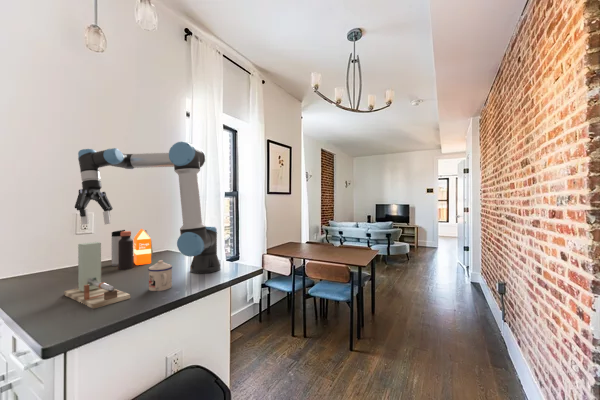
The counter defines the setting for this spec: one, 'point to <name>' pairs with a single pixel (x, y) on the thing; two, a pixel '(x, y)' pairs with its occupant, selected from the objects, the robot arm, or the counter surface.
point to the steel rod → (101, 285)
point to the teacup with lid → (160, 276)
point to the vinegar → (125, 251)
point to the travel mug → (115, 247)
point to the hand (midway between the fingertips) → (97, 223)
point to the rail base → (96, 296)
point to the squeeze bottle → (151, 243)
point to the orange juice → (142, 248)
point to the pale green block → (89, 264)
